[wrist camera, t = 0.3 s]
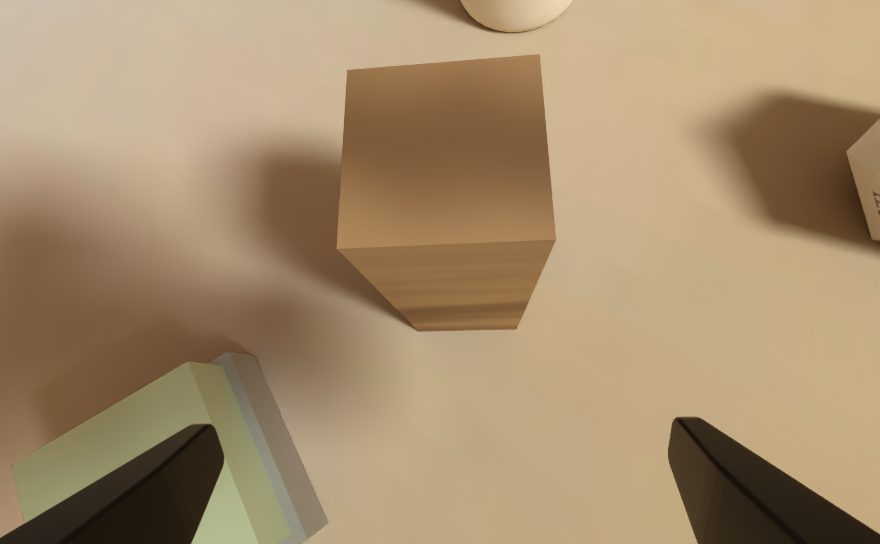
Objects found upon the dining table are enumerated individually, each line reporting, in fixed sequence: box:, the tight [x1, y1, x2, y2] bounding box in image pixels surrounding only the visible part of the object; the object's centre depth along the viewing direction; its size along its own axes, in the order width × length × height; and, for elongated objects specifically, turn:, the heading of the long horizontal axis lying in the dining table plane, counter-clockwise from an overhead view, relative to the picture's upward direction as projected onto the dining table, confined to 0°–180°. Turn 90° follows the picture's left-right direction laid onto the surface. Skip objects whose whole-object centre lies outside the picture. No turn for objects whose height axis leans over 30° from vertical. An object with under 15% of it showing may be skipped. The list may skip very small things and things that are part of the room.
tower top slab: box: [11, 361, 292, 544], centre depth 18 cm, size 8×8×2 cm
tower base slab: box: [207, 351, 328, 544], centre depth 20 cm, size 9×9×2 cm
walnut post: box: [336, 54, 556, 332], centre depth 17 cm, size 5×5×13 cm
